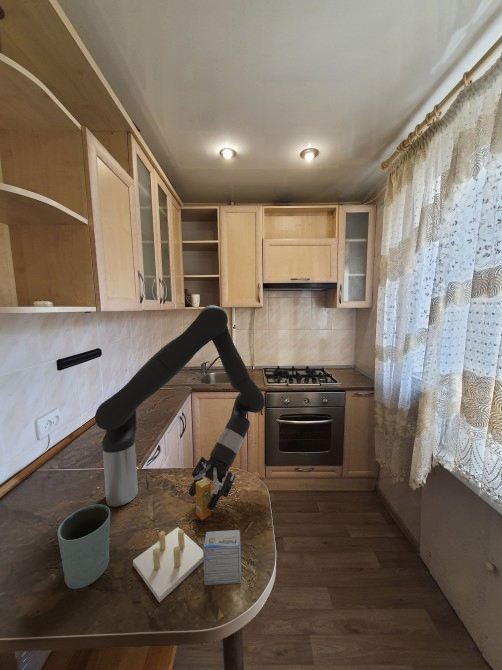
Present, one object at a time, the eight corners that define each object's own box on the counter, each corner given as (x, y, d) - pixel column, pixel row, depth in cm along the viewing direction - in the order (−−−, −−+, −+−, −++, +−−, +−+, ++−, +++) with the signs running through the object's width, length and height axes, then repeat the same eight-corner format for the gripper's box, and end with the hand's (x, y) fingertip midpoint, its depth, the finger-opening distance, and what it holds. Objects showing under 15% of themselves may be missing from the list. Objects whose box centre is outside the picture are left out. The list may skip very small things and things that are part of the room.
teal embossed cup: (85, 547, 63) (82, 502, 62) (123, 550, 62) (119, 504, 61) (49, 591, 53) (44, 538, 52) (93, 595, 52) (89, 541, 51)
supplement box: (202, 521, 70) (200, 487, 69) (195, 514, 73) (194, 481, 72) (212, 515, 72) (210, 482, 72) (205, 508, 75) (204, 476, 74)
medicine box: (241, 564, 58) (240, 528, 57) (241, 584, 53) (240, 546, 53) (207, 566, 57) (205, 530, 57) (204, 586, 53) (202, 548, 52)
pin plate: (133, 565, 58) (131, 544, 58) (178, 531, 67) (177, 512, 67) (159, 602, 50) (158, 578, 50) (206, 558, 59) (205, 537, 59)
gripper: (206, 435, 81) (177, 487, 74) (237, 449, 72) (208, 510, 64) (218, 444, 86) (192, 494, 78) (249, 459, 77) (223, 517, 69)
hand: (199, 502), depth 71 cm, fingers open, 8 cm apart
